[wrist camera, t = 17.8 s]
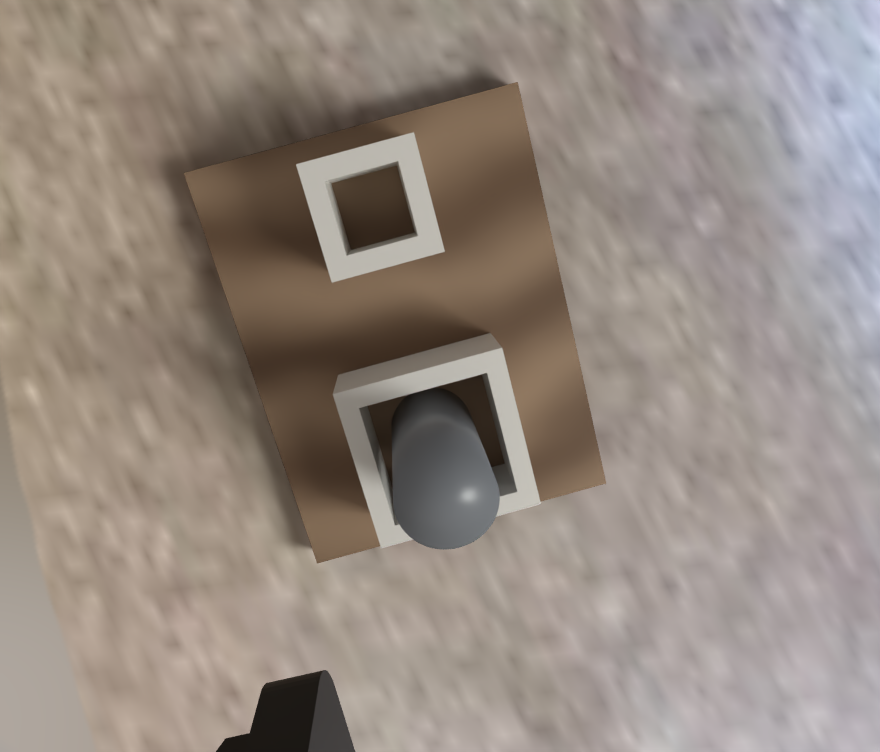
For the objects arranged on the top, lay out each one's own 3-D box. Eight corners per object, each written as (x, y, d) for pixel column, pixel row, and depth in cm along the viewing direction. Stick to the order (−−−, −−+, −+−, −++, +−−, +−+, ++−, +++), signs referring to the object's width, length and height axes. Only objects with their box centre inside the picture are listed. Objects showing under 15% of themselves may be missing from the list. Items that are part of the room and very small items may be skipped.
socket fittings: (276, 176, 35) (262, 173, 32) (440, 131, 35) (446, 123, 32) (381, 514, 40) (381, 548, 36) (526, 475, 40) (540, 504, 36)
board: (191, 174, 36) (183, 172, 35) (512, 86, 37) (517, 82, 35) (319, 550, 42) (317, 563, 40) (598, 473, 42) (606, 483, 41)
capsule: (431, 370, 38) (446, 427, 29) (488, 424, 39) (521, 497, 30) (374, 428, 39) (370, 503, 29) (432, 479, 40) (447, 569, 30)
